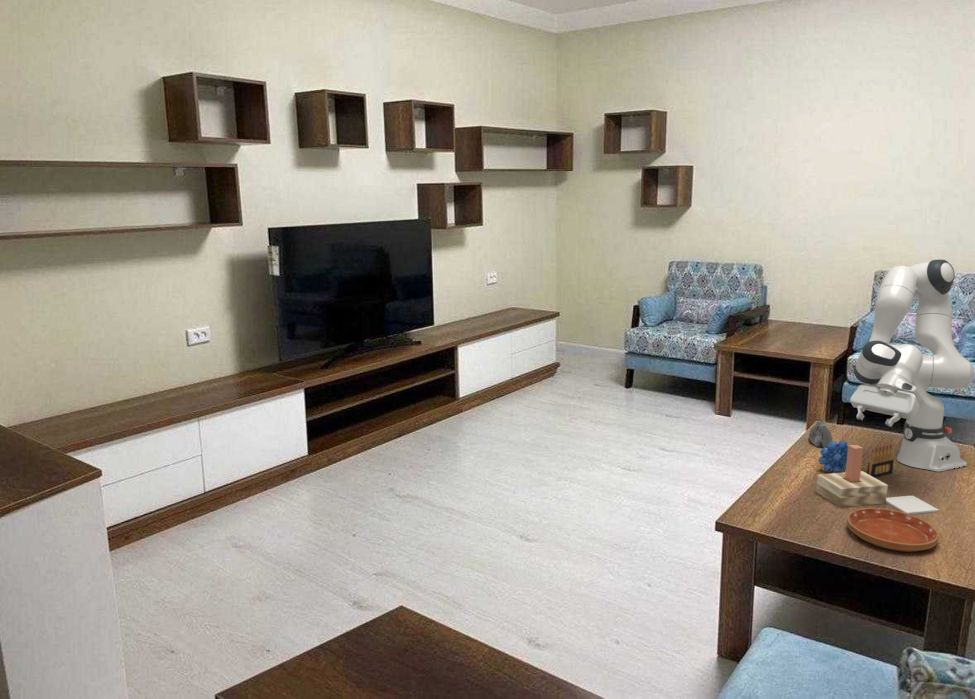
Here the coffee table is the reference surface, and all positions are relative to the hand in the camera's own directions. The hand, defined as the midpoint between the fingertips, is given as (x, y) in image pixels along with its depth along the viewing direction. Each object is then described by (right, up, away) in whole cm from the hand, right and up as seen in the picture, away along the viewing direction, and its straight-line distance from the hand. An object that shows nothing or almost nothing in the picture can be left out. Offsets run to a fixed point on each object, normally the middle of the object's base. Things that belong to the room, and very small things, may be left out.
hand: (873, 421), depth 243 cm
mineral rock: (+4, -13, +48) cm, 50 cm away
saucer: (-9, -30, -28) cm, 42 cm away
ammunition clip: (+10, -20, +16) cm, 28 cm away
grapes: (-3, -19, +19) cm, 27 cm away
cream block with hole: (-8, -24, -2) cm, 25 cm away
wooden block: (-8, -21, -3) cm, 23 cm away
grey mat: (+7, -25, -8) cm, 27 cm away
